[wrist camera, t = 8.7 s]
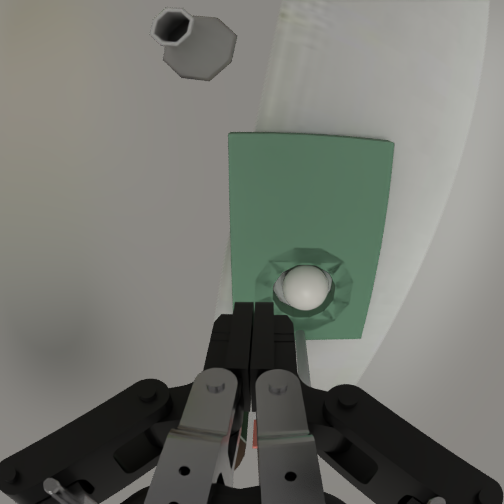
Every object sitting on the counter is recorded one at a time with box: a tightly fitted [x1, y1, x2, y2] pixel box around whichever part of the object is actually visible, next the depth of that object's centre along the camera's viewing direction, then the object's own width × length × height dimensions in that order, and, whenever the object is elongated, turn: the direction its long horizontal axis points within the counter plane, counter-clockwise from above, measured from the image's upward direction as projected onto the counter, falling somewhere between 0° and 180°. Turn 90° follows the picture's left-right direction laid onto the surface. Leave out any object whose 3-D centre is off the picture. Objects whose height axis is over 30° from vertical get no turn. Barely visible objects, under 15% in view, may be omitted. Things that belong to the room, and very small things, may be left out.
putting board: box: [228, 132, 394, 448], centre depth 27 cm, size 24×16×18 cm, turn 0°
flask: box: [149, 8, 237, 81], centre depth 22 cm, size 7×7×10 cm
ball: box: [283, 265, 328, 310], centre depth 35 cm, size 5×5×5 cm
